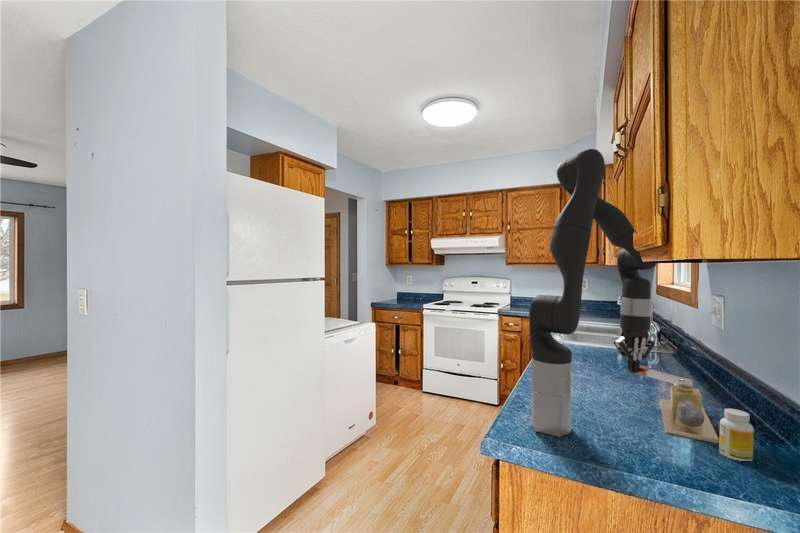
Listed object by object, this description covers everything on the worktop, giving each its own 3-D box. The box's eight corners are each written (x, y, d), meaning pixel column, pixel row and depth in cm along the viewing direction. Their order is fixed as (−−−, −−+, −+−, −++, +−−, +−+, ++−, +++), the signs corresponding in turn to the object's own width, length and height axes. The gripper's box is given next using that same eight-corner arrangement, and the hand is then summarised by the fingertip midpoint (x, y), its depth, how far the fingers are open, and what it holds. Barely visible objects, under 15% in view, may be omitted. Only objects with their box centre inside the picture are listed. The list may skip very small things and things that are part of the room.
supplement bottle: (712, 451, 80) (713, 408, 79) (730, 448, 81) (731, 405, 81) (741, 464, 74) (741, 418, 74) (759, 461, 76) (760, 415, 76)
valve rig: (719, 443, 83) (719, 406, 83) (665, 432, 88) (665, 397, 88) (702, 409, 103) (702, 378, 103) (659, 401, 108) (659, 372, 108)
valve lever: (694, 388, 95) (695, 379, 95) (688, 389, 94) (688, 380, 94) (634, 370, 110) (634, 363, 110) (628, 371, 109) (628, 364, 109)
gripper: (627, 315, 101) (625, 377, 101) (665, 315, 104) (663, 375, 104) (606, 311, 108) (604, 369, 108) (642, 312, 111) (640, 368, 111)
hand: (633, 372), depth 106 cm, fingers closed
